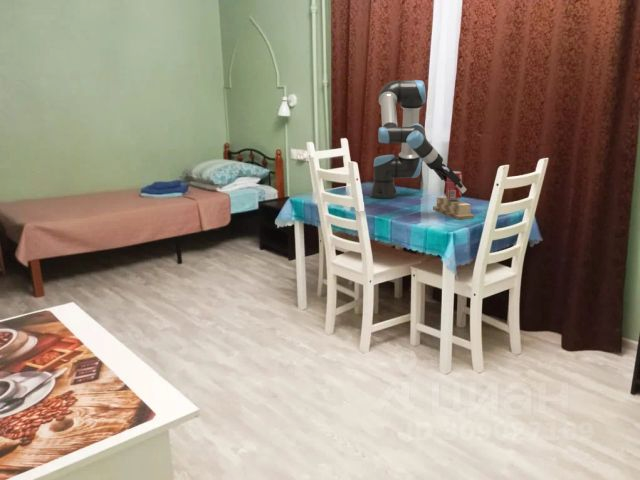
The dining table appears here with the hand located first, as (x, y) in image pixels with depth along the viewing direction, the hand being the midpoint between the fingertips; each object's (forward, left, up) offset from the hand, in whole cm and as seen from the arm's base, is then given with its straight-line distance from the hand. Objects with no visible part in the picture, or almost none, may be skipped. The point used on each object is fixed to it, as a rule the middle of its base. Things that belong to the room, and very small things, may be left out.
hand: (460, 190), depth 250 cm
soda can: (0, -4, -4) cm, 6 cm away
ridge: (0, -4, -11) cm, 12 cm away
